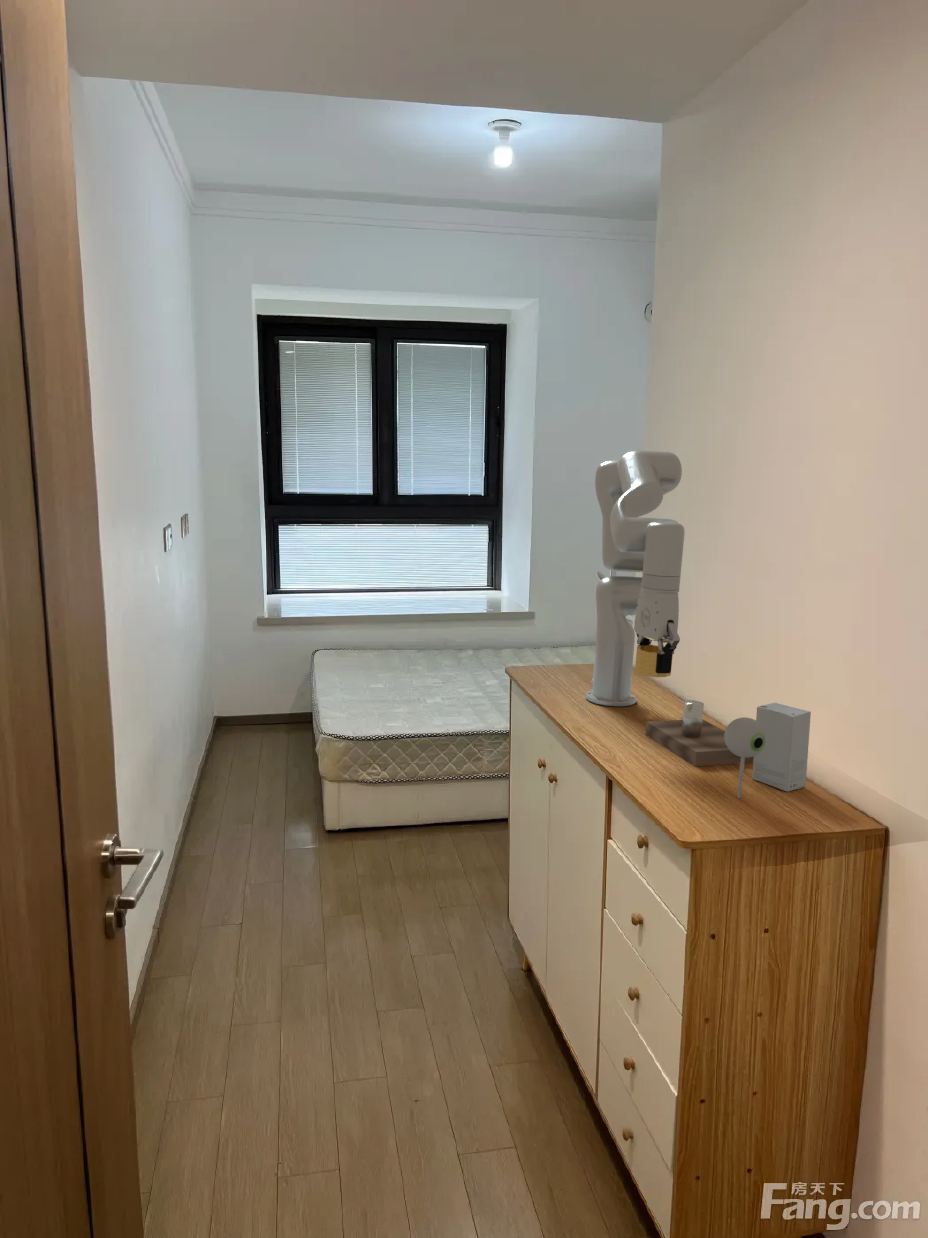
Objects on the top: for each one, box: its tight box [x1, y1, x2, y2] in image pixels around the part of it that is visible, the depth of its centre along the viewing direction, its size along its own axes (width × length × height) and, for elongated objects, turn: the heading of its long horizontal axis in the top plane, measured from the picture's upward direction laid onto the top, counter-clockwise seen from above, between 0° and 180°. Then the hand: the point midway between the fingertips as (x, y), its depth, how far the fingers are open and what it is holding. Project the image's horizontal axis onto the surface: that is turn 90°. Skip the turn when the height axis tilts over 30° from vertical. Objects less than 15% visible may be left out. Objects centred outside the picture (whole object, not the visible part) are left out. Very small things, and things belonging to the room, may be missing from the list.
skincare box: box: [751, 702, 812, 792], centre depth 159 cm, size 8×6×15 cm
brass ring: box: [634, 644, 674, 678], centre depth 173 cm, size 7×7×5 cm
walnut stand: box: [644, 718, 754, 767], centre depth 179 cm, size 20×14×3 cm
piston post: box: [681, 699, 705, 738], centre depth 177 cm, size 4×4×7 cm
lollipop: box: [724, 717, 766, 799], centre depth 151 cm, size 7×7×15 cm
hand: (653, 667), depth 173 cm, fingers closed on brass ring, 7 cm apart
